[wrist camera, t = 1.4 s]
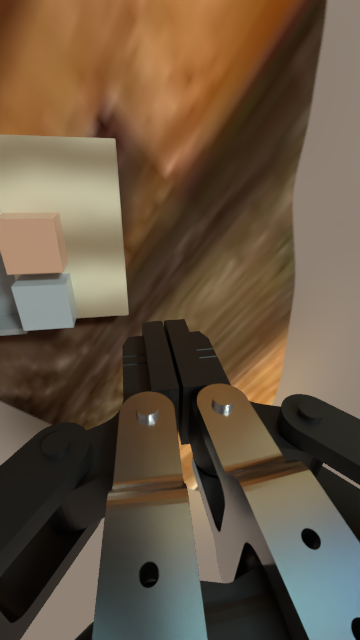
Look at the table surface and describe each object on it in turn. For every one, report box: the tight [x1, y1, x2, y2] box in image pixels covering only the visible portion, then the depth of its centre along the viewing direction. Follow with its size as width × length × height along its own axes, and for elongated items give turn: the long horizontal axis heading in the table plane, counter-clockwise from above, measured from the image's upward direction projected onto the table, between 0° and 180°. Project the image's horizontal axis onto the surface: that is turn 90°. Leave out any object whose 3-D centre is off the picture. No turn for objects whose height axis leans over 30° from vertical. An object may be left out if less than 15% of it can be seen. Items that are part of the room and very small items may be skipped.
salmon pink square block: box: [0, 212, 68, 275], centre depth 22 cm, size 4×4×2 cm
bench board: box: [0, 135, 129, 318], centre depth 25 cm, size 14×9×3 cm, turn 179°
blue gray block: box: [11, 273, 77, 331], centre depth 24 cm, size 4×4×2 cm
